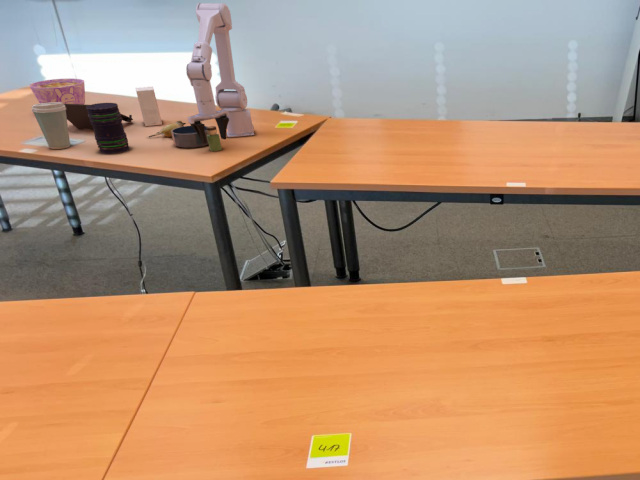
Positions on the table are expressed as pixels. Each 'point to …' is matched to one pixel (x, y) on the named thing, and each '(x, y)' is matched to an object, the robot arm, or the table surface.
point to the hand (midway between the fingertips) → (214, 141)
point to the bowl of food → (59, 91)
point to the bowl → (187, 137)
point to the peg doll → (213, 139)
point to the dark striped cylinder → (108, 128)
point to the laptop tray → (83, 116)
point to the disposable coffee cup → (53, 123)
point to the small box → (148, 106)
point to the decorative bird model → (169, 129)
